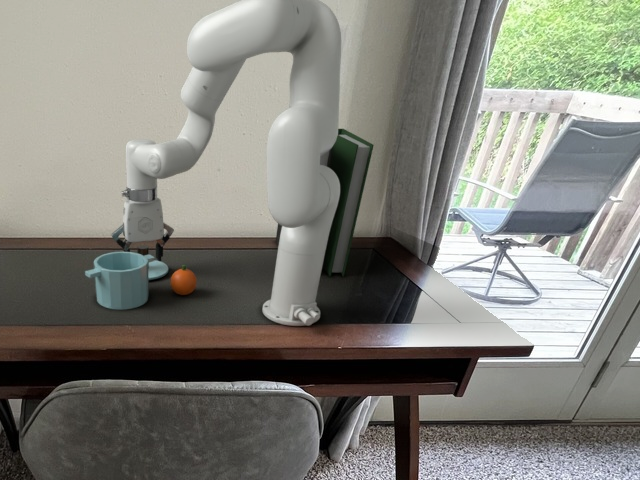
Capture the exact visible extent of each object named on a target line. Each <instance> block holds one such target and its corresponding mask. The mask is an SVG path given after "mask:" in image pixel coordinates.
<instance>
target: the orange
mask: <svg viewBox="0 0 640 480" xmlns="http://www.w3.org/2000/svg"><path fill="white" fill-rule="evenodd" d="M197 280H198V279H197V277H196V273H194V272H193V271H192V270H191V269H189V268H187V265H186V264H181V268H179V269H177V270H175V271H174V273H172V275H171V277H170V283H169V284H170V287H171V290H173V292H174V293H176V294H177V295H180V296H187V295H190V294H191V293H192V292H194V290H195V289H196V288H197V285H198V284H197V283H198V282H197Z"/></svg>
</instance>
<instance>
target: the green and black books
mask: <svg viewBox="0 0 640 480" xmlns="http://www.w3.org/2000/svg"><path fill="white" fill-rule="evenodd" d="M373 150H374V144H373V143H371V142H369V141H367V140H366V139H364V138H362V137H360V136H358V135H357V134H354V133H352V132H350V131H349V130H347V129H345V128H338V136H337V139H336V142H335V143H334V145H333V147H332V148H331V149H330V150H329V151H328V152H326V153H325V154H323V155H322V156H320V165H324V166H327V167H329V168H330V169H332V170H333V171H334V172H335V174H336V175H337V177H338V179H339V183H340V196H339V201H338V205H337V208H336V211H335V214H334V218H333V221H332V224H331V228H330V232H329V237H328V242H327V246H326V250H325V255H324V260H323V265H322V269H324V271H325V272H326V273H327V275H328V276H329V277H332V274H333V273H339V274H341V276H342V277H345V273H346V270H347V269H346V268H347V265H348V259H349V256H350V252H351V247H352V242H353V238H354V233H355V229H356V225H357V220H358V216H359V212H360V208H361V202H362V198H363V194H364V190H365V185H366V181H367V176H368V171H369V167H370V163H371V158H372V154H373ZM281 229H282V226H281V225H280V224H278V223H277V227H276V236H275V243H276V245H277V247H278V246H279V240H280V234H281Z"/></svg>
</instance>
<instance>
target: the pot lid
mask: <svg viewBox="0 0 640 480" xmlns="http://www.w3.org/2000/svg"><path fill="white" fill-rule="evenodd" d="M136 248H137V249H136V250H137V251H136V253H138V254H141V255H143V256H145V255H150V253H149V252H150V249H149V245H145V244H140V245H138V246H137V247H136ZM168 273H169V266H168V265H167V263H165V262H163V261H158V260H157V259H155V261H152V262H149V263H148V281H152V280H157V279H160V278H162V277H164V276H166V275H167V274H168Z"/></svg>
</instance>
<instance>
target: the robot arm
mask: <svg viewBox="0 0 640 480" xmlns="http://www.w3.org/2000/svg"><path fill="white" fill-rule="evenodd" d="M340 27H341V26H340V23H339V21H338V18H337V16H336V14H335V13H334V11H333V9H331V7H330V6H328V5H327V4H325V2H323V1H321V0H238V1H236V2H234V3H231V4H229V5H227V6H225V7H223V8H220V9H218V10H215V11H214V12H211V13H209V14H207V15H205V16H202V18H201V19H199V20H198V21H197V22H196V23H195V24H194V25H193V27H192V29H191V30H190V32H189V33H188V38H187V40H186V41H187V42H186V54H187V58H188V61H189V63H190V64H191V66H192V67H191V70H190V72H189V74H188V76H187V78H186V79H185V82H184V84H183V86H182V88H181V90H180V99H181V101H182V103H183V104H184V106H185V107H186V108H187V109H188V113H187V118H186V120H185V123H184V125H183V127H182V129H181V131H180V132H179V134H178V136H177V138H174V139H170V140H167V141H164V142H159V143H156V142H155V141H154V140H152V139H147V138H139V139H132V140H129V141H128V142H127V143H126V144H125V167H126V168H125V169H126V187H125V190H121V191H120V193H121V197H122V198H123V197H124V198H126V199H125V200H124V204H123V211H122V212H123V213H122V224H121V225H120V226H119V227H117V228H116V229H115V230H114V231H113V232H112V233H111V234H110V236H111V237H112V239H113V240H114V241H115V242H116V244H117V245H118V246H119V247H120V248H122V252H131V249H130V246H131V245H132V243H141V242H151V241H156V243H155V259H156V260H157V261H160V262H162V258H163V257H164V247H165V246H166V243H167V242H168V241H169V240H170V239H171V236H172V235H173V233H174V232H175V228H173V226H170V225H168V224H167V223H165V221H164V213H163V206H162V200H161V199H160V198H159V197H158V180H164V179H167V178H171V177H174V176H177V175H180V174H183V173H185V172H188V171H190V170H191V169H192V168H193V167H194V166H195V165H196V164H197V162H198V161H199V159H200V158H201V156H202V155H203V154H204V151H205V150H206V148H207V146H208V145H209V143H210V140H211V138H212V136H213V132H214V127H215V124H216V123H215V122H216V114H217V113H218V109H219V108H220V106H221V104H222V103H223V101H224V100H225V98H226V95H227V93H228V92H229V90H230V89H231V88H232V85H233V83H234V81H235V80H236V78H237V77H238V75H239V73H240V72H241V69H242V68H243V65H244V64H245V62H246V61H247V60H248V59H251V58H253V57H256V56H259V55H263V54H269V53H290V54H291V56H292V65H291V68H290V69H291V70H290V74H289V107H288V108H287V109H285V110H284V111H282V112H280V114H279V115H278V116H277V117H276V118H275V119H274V121H273V122H272V124H271V126H270V129H269V132H268V135H267V141H266V196H267V197H266V198H267V207H268V210H269V214H270V215H271V217H272V219H273V221H275V222H276V223H277V225H278V224H280V225H281V226H282V229H281V234H280V240H279V246H278V245H277V254H276V261H275V267H274V275H273V282H272V289H271V295H270V299H268V300H266V301H264V302H263V304H262V309H261V310H262V314H263V315H264V316H265V318H267V319H268V320H270V321H272V322H273V323H277V324H279V325H284V326H288V327H289V326H291V327H305V326H309V327H310V326H311V325H312V324H314V323H316V322H318V321H319V320H320V318H321V310H320V308H319V307H318V306H317V304H318V303H317V302H316V299H317V295H318V289H319V285H320V279H321V276H322V275H321V274H322V270H323V266H322V265H323V260H324V255H325V250H326V246H327V242H328V237H329V232H330V228H331V224H332V221H333V218H334V214H335V211H336V208H337V205H338V201H339V196H340V183H339V179H338V177H337V175H336V174H335V172H334V171H333V170H332V169H330V168H329V167H327V166H324V165H320V156H322V155H323V154H325V153H326V152H328V151H329V150H330V149H331V148H332V147H333V145H334V143H335V142H336V139H337V136H338V129H339V124H340V123H339V118H340V94H341V93H340V92H341V62H342V61H341V59H342V32H341V28H340ZM121 234H123V236H124V237H125V238H124V239H123V240H122V239H121V238H120V236H121Z"/></svg>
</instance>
